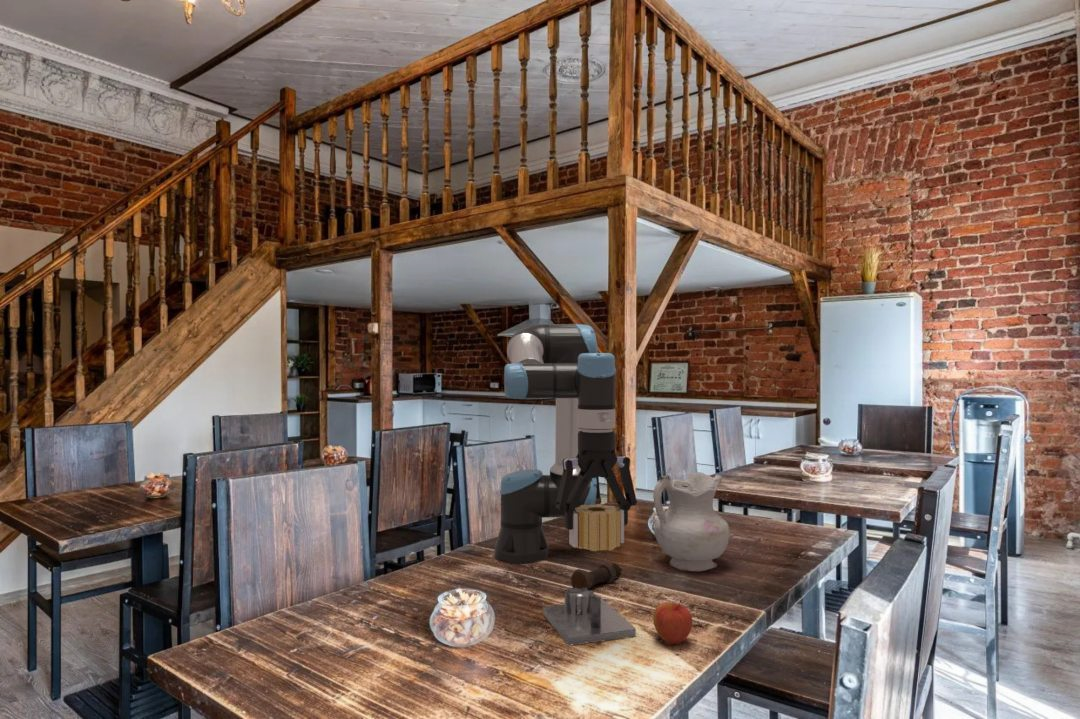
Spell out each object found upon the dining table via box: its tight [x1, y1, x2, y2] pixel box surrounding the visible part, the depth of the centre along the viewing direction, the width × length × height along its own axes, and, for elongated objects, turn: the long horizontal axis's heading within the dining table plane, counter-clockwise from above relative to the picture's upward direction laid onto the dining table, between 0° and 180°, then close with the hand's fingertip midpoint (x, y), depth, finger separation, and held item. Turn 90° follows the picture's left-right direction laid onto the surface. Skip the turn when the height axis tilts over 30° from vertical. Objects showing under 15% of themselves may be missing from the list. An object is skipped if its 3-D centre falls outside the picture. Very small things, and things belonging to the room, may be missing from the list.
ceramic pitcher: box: [652, 471, 730, 573], centre depth 167 cm, size 22×20×25 cm
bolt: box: [570, 562, 623, 591], centre depth 152 cm, size 6×5×15 cm
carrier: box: [542, 587, 637, 646], centre depth 128 cm, size 16×14×7 cm
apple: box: [652, 599, 693, 645], centre depth 121 cm, size 7×7×8 cm
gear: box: [574, 503, 621, 552], centre depth 125 cm, size 9×9×7 cm
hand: (596, 543), depth 125 cm, fingers closed on gear, 9 cm apart
